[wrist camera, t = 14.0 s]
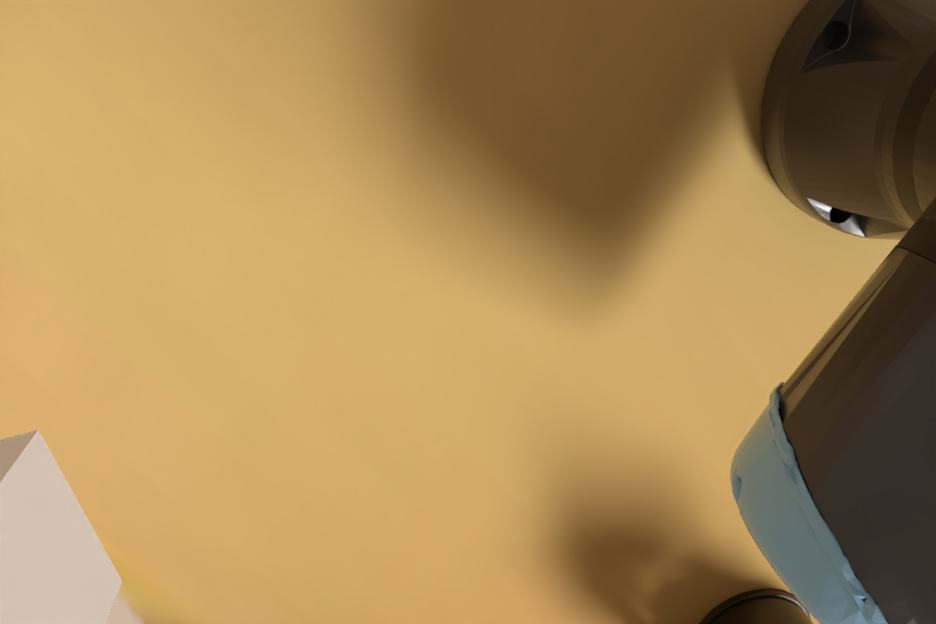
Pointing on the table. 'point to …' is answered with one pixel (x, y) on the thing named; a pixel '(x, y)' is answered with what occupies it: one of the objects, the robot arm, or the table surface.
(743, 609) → the french press
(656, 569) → the table surface
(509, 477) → the table surface
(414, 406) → the table surface
